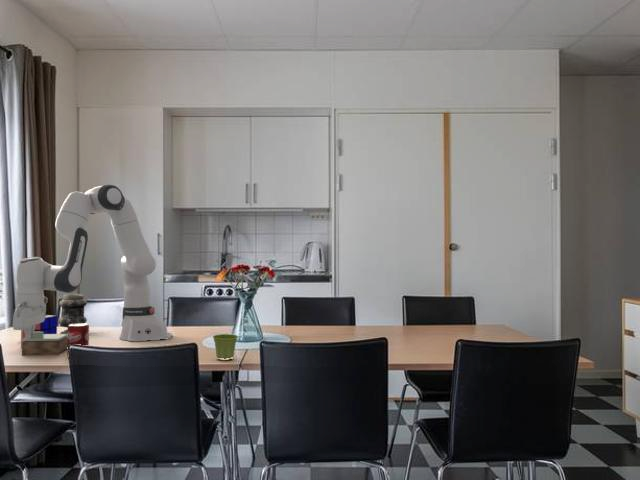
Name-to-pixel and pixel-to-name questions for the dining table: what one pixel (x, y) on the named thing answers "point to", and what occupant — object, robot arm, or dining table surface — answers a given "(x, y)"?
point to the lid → (46, 337)
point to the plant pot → (225, 345)
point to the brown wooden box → (44, 347)
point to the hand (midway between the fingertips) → (29, 338)
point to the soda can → (78, 334)
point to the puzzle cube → (47, 325)
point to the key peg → (22, 337)
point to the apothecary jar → (72, 310)
